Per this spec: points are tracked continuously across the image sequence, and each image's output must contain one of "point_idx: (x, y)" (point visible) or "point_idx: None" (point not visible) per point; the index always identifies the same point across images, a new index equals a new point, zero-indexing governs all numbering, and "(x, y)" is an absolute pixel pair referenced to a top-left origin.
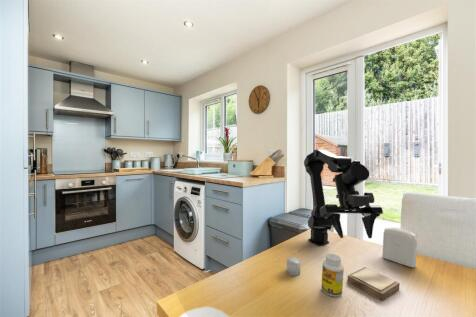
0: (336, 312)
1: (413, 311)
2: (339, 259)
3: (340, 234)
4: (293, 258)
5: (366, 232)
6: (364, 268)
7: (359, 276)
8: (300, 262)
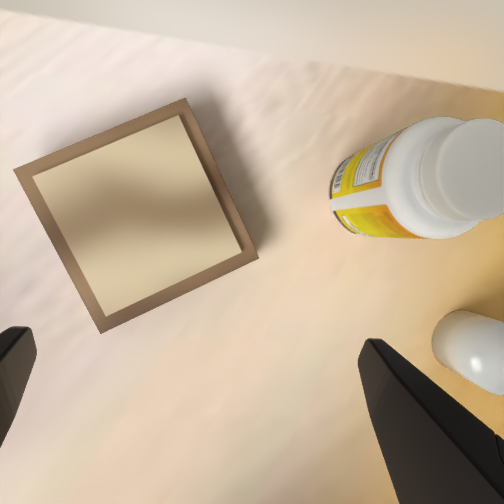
0: (413, 77)
1: (96, 31)
2: (465, 126)
3: (402, 367)
4: (499, 383)
5: (5, 432)
6: (117, 318)
7: (208, 235)
8: (481, 341)
